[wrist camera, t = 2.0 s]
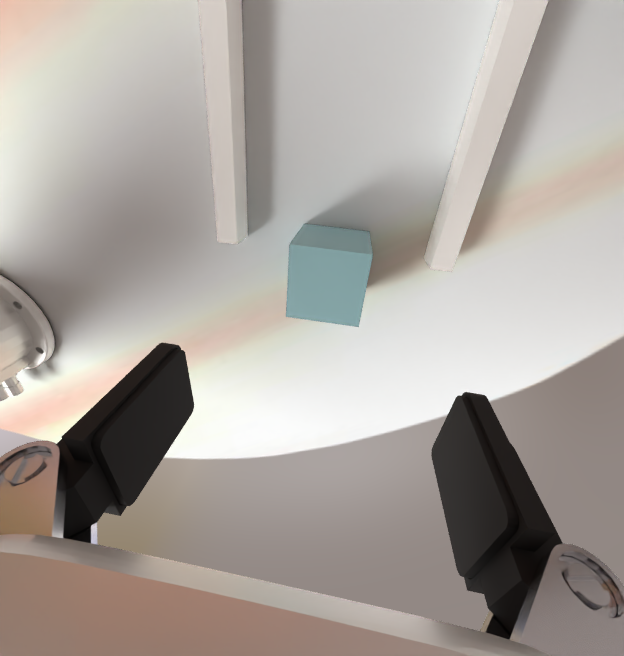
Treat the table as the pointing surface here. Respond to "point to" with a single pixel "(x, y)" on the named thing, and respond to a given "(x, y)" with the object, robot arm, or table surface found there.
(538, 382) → the table surface
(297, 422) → the table surface
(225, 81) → the guide channel
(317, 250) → the block
